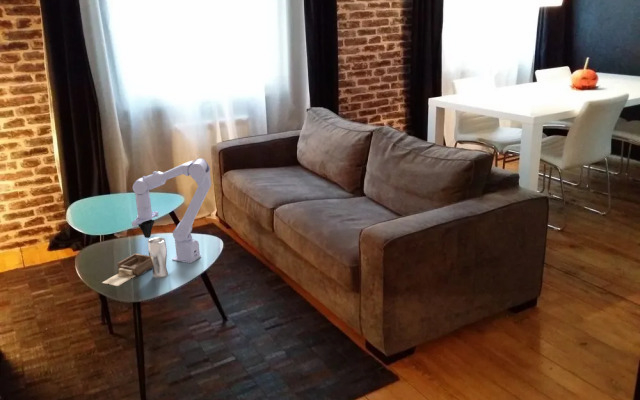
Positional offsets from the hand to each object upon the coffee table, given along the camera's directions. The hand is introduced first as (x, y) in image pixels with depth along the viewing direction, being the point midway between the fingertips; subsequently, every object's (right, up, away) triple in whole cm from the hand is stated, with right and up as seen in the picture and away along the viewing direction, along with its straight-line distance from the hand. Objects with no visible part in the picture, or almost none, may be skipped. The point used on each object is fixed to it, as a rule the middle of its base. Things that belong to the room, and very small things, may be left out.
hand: (147, 237), depth 257 cm
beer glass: (+9, -15, -13) cm, 22 cm away
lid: (-7, -16, -16) cm, 24 cm away
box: (-2, -13, -7) cm, 15 cm away
